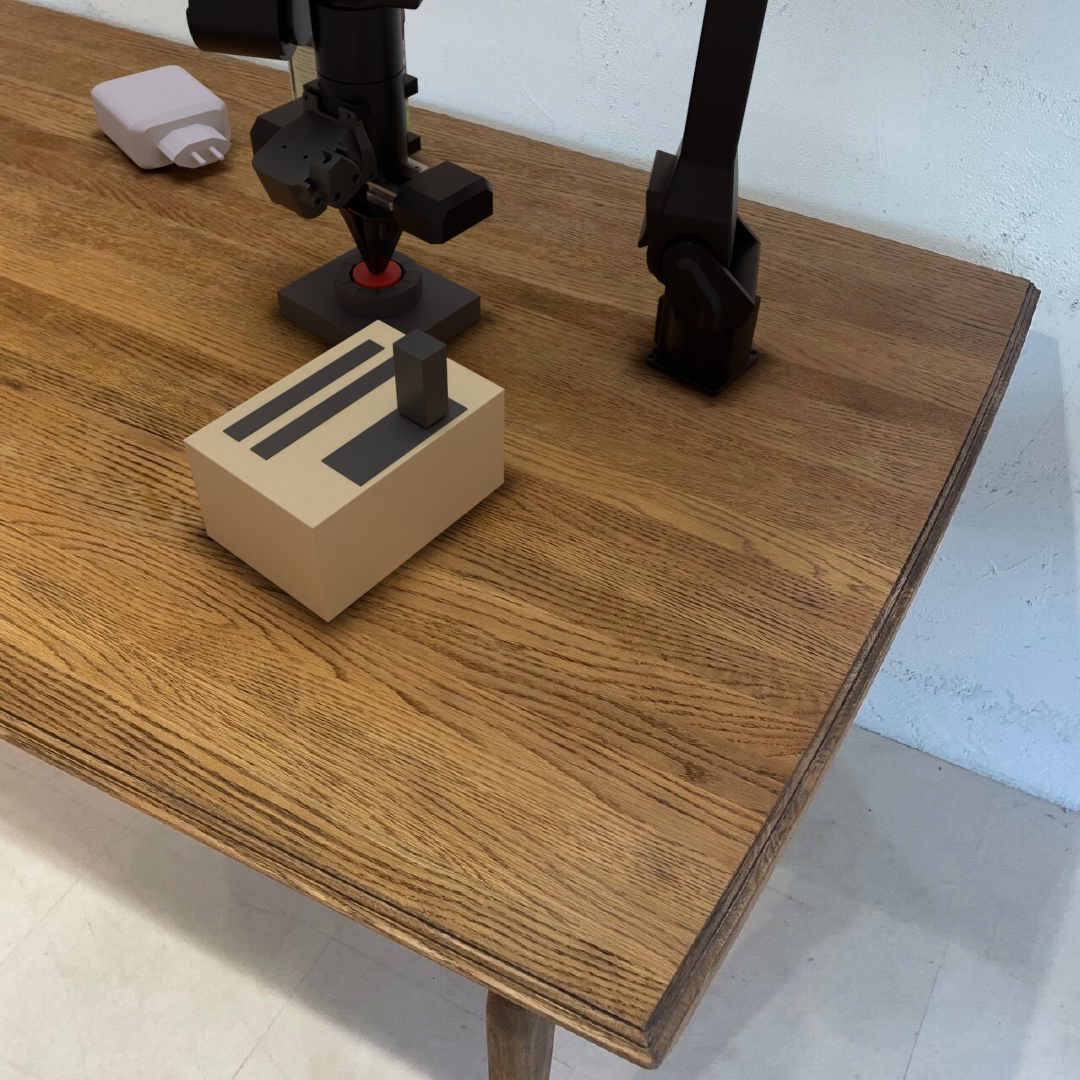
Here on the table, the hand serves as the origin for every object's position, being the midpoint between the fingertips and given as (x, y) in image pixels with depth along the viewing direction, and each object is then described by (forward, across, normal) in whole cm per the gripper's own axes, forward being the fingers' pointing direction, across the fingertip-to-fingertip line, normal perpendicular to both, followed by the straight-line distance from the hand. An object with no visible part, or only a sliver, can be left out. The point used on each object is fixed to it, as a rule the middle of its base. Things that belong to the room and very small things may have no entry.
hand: (377, 271), depth 86 cm
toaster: (+4, +14, -16) cm, 22 cm away
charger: (+4, -32, +6) cm, 33 cm away
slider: (-4, +18, -13) cm, 22 cm away
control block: (+4, 0, 0) cm, 4 cm away
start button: (+2, 0, 0) cm, 2 cm away
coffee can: (+4, -18, +15) cm, 24 cm away
